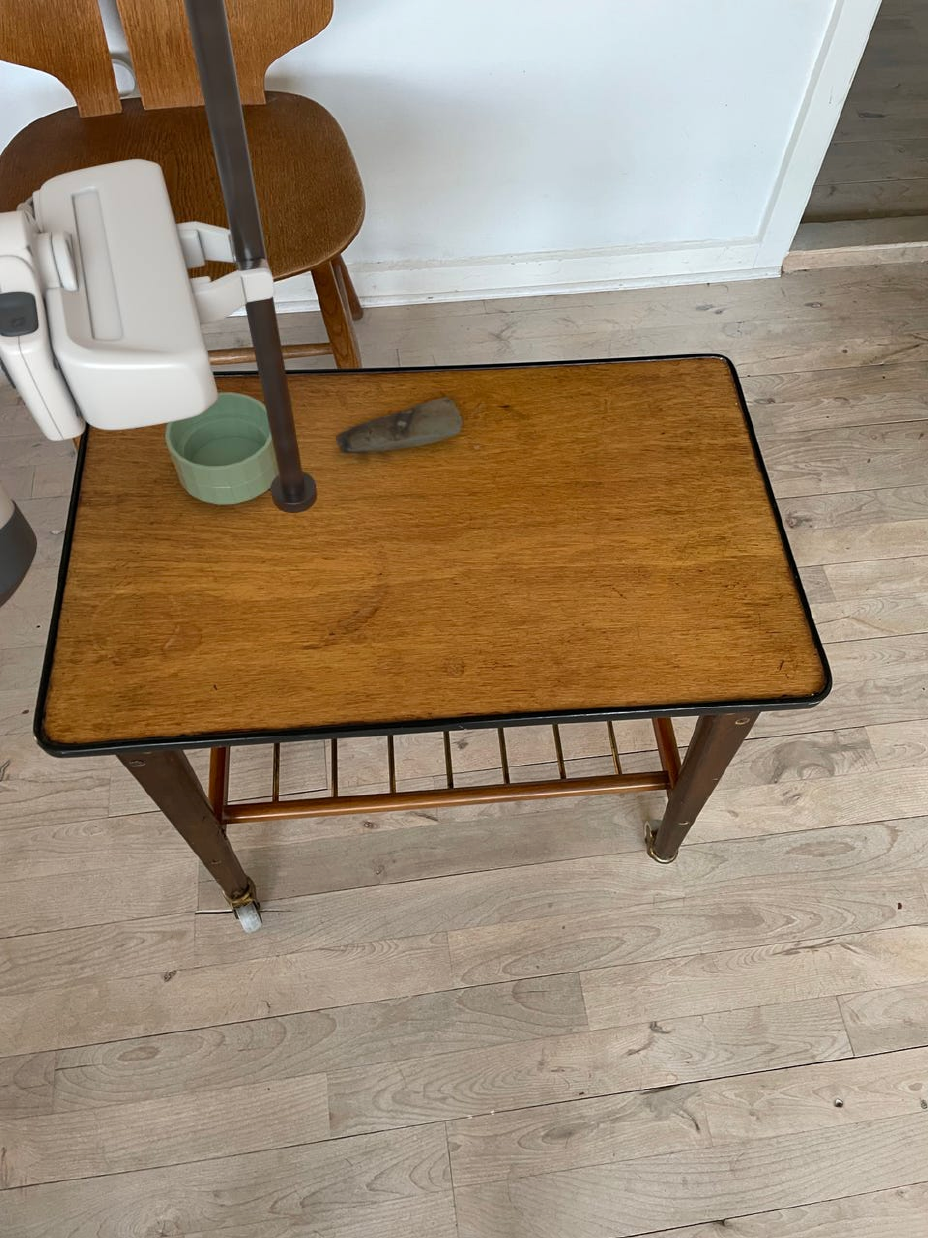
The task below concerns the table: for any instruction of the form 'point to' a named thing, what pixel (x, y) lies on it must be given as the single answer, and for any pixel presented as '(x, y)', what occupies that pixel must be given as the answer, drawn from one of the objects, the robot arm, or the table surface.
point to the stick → (247, 239)
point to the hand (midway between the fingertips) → (266, 261)
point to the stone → (404, 428)
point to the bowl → (224, 450)
